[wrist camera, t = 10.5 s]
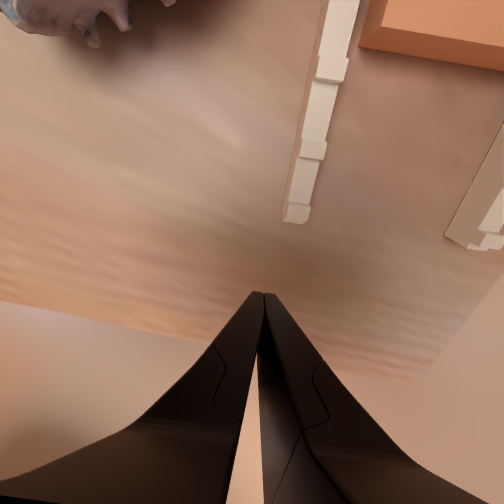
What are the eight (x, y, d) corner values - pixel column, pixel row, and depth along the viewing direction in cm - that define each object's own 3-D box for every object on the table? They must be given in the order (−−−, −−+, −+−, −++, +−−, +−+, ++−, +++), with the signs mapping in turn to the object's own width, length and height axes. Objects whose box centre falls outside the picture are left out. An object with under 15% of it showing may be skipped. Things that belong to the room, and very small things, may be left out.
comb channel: (734, -238, 10) (1338, -710, 5) (462, 237, 20) (542, 281, 14) (382, -306, 10) (546, -907, 4) (280, 211, 20) (287, 244, 14)
